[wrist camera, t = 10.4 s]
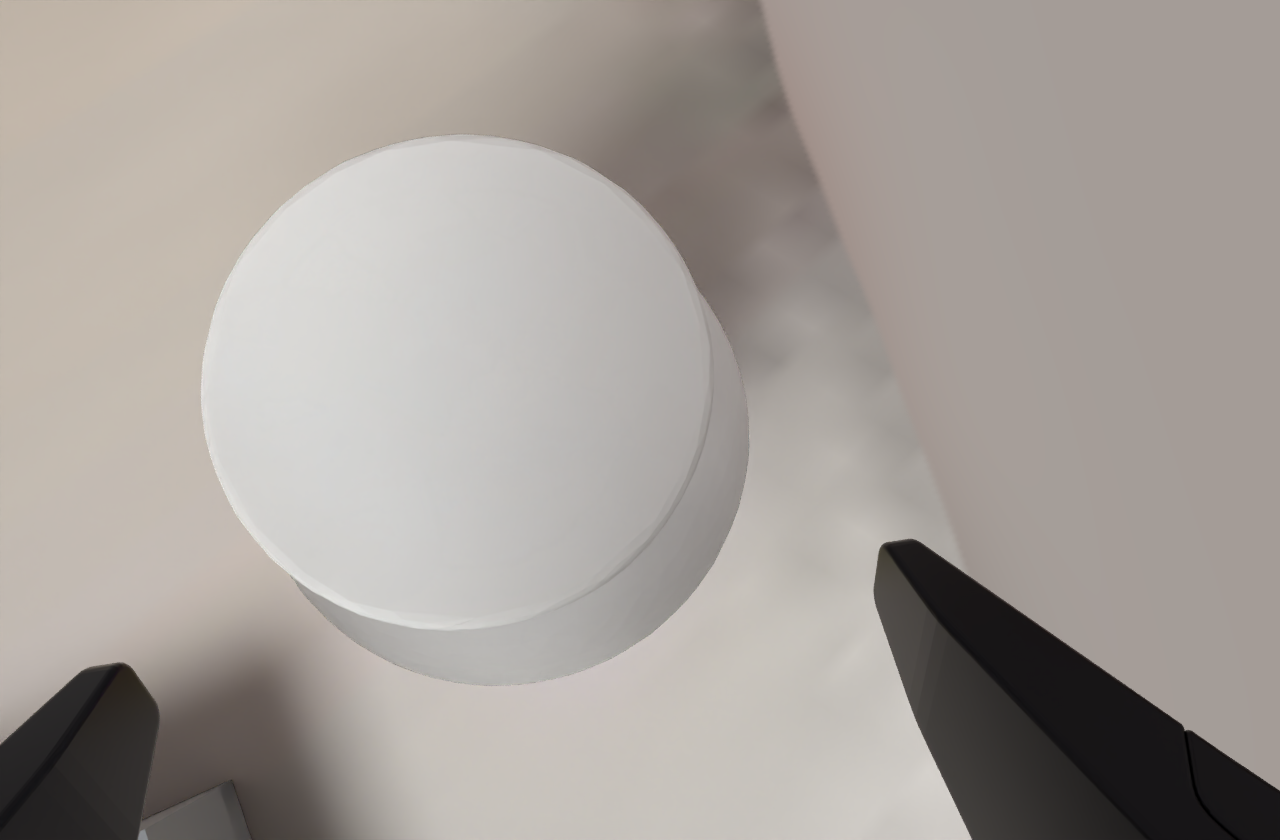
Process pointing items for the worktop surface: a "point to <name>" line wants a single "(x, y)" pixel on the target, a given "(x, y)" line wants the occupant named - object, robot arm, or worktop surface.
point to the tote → (199, 818)
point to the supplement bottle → (476, 409)
